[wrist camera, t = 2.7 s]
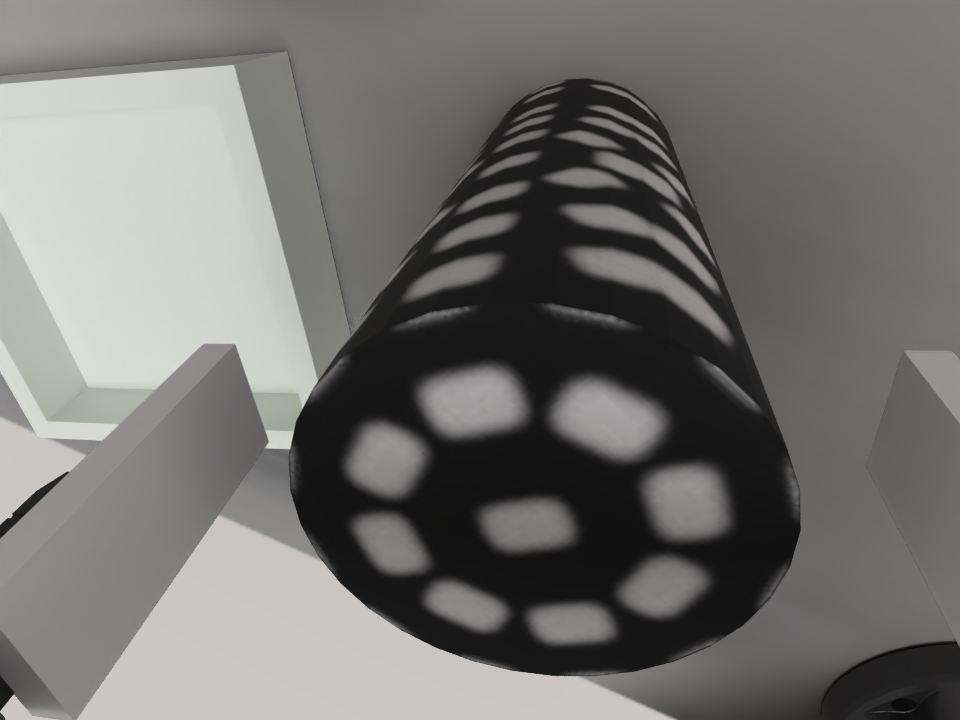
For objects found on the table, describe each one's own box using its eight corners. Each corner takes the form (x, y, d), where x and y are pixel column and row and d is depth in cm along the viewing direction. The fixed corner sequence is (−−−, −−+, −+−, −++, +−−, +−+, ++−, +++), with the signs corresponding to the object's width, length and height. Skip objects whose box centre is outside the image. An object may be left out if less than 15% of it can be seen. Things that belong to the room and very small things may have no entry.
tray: (365, 400, 35) (336, 451, 32) (93, 392, 39) (38, 437, 35) (287, 51, 26) (234, 64, 22) (-62, 81, 30) (-159, 97, 26)
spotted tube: (516, 289, 30) (406, 685, 14) (454, 119, 26) (194, 375, 10) (693, 242, 28) (828, 664, 11) (651, 45, 24) (757, 224, 7)
